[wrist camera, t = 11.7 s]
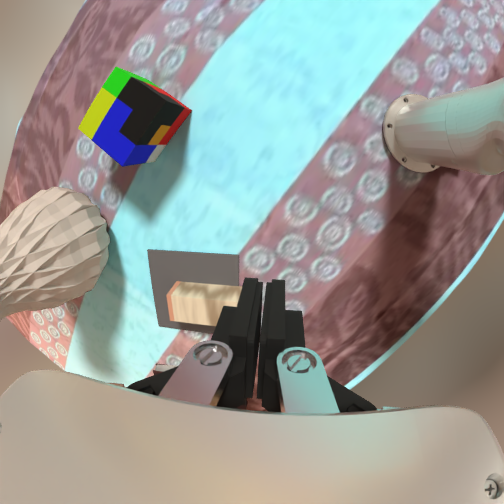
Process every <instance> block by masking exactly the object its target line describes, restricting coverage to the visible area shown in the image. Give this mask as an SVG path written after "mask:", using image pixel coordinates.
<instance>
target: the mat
mask: <svg viewBox="0 0 504 504" xmlns="http://www.w3.org/2000/svg"><path fill="white" fill-rule="evenodd" d="M147 251H148V259H149V267H150V275H151V282H152V289H153V295H154V301H155V307H156V313H157V319H158V324H159V326H163V327H169V328H176V329H183V330H191V331H199V332H208V333H214V330H215V327H216V326H210V325H201V324H192V323H184V322H177V321H170V316H169V310H168V303H167V296H166V295H167V294H168V292H169V291H170V289H171V288H172V287H173V285H174V284H175V283H176V281H180V282H192V283H203V284H216V285H229V286H239V255H232V254H216V253H199V252H182V251H166V250H150V249H148V250H147Z"/></svg>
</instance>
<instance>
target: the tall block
mask: <svg viewBox="0 0 504 504" xmlns="http://www.w3.org/2000/svg"><path fill="white" fill-rule="evenodd" d="M241 290H242V286H229V285H216V284H203V283H192V282H180V281H176V283H175V284H174V285H173V287H172V288H171V289H170V291H169V292H168V294H167V295H166V296H167V303H168V310H169V316H170V321H177V322H184V323H192V324H201V325H210V326H216V325H217V322H218V319H219V316H220V314H221V311H222V308H223V306H233V307H237V304H238V300H239V297H240V293H241Z"/></svg>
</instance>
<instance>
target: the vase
mask: <svg viewBox="0 0 504 504" xmlns="http://www.w3.org/2000/svg"><path fill="white" fill-rule="evenodd" d="M106 227H107V224H106V220H105V219H104V218H102V217H101V216H100V209H99V208H98V207H97V205H94V204H92V203H91V201H90V199H89V197H88V196H86V195H85V194H83V193H77V192H76V191H74V190H72V189H68V188H61V187H51V188H50V189H48V190H41V191H39V192H38V193H37V194H35V195H34V196H32V197H31V198H30V199H29V200H28V201H26V202H24V203H22V204H20V205H19V206H18V207H17V208H15V209H14V210H13V211H12V212H11V214H10V215H9V217H8V218H7V219H6V220H5V221H4V222H3V223H2V224H1V225H0V320H2V319H3V318H4V317H6V316H9V315H11V314H14V313H17V312H21V311H25V310H28V311H37V310H43V309H47V308H55V307H58V306H61V305H62V304H64V303H65V302H67V301H69V300H72V299H75V298H78V297H80V296H82V295H83V294H84V293H85V292H88V291H91V290H92V289H93V288H94V286H95V284H96V283H97V281H98V279H99V277H100V275H101V273H102V271H103V269H104V267H105V265H106V263H107V261H108V258H109V251H108V245H109V243H110V237H109V235H108V233H107V232H106Z"/></svg>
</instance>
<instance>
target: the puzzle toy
mask: <svg viewBox="0 0 504 504" xmlns="http://www.w3.org/2000/svg"><path fill="white" fill-rule="evenodd" d="M191 111H192V110H191V109H189V108H188V107H186V106H185V105H184V104H182V103H181V102H179V101H178V100H177V99H175V98H174V97H172V96H171V95H169V94H168V93H167V92H165V91H164V90H162V89H161V88H159V87H158V86H156V85H155V84H153V83H152V82H150V81H149V80H147V79H145V78H142V77H140V76H138V75H135V74H133V73H131V72H128V71H126V70H123V69H121V68H118V67H115V69H114V70H113V72H112V73H111V75H110V76H109V77H108V79H107V80H106V82H105V83H104V85H103V87H102V88H101V90H100V91H99V93H98V94H97V96H96V98H95V99H94V101H93V103H92V104H91V106H90V108H89V110H88V111H87V113H86V115H85V117H84V118H83V120H82V122H81V124H80V126H79V128H78V129H79V130H81V131H82V132H83V133H84V134H85V135H86V136H88V137H89V138H90V139H91V140H92V141H93V142H94V143H96V144H97V145H98V146H99V147H100V148H101V149H103V150H104V151H105V152H106V153H107V154H108V155H109V156H111V157H112V158H113V159H114V160H115V161H116V162H118V163H119V164H120V165H121V166H122V167H124V166H130V165H136V164H142V163H149V162H155V160H156V159H157V158H158V156H159V155H160V153H161V152H162V150H163V149H164V147H165V146H166V145H167V143H168V142H169V140H170V139H171V138H172V136H173V135H174V134H175V132H176V131H177V130H178V128H179V127H180V126H181V124H182V123H183V122H184V120H185V119H186V118H187V116H188V115H189V114H190V113H191Z"/></svg>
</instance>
